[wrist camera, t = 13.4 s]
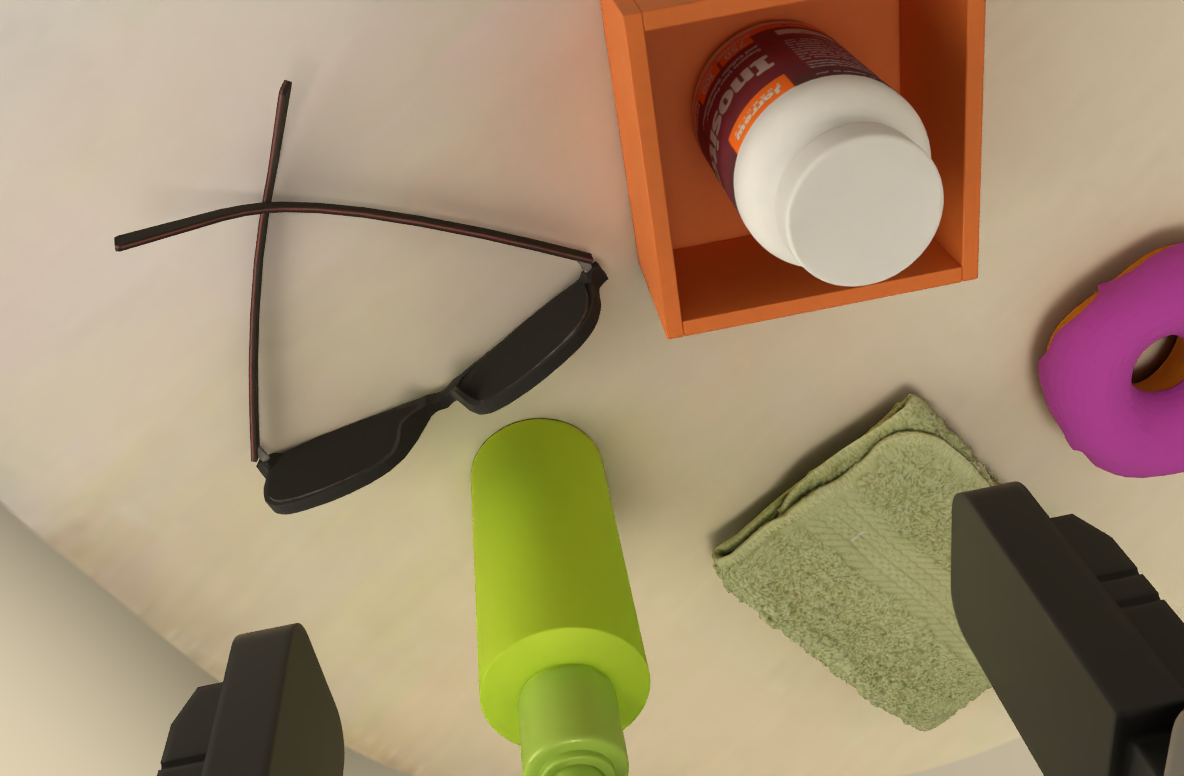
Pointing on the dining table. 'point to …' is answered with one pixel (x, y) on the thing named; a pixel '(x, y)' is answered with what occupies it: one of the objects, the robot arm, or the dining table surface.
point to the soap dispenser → (554, 603)
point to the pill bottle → (817, 154)
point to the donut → (1122, 370)
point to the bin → (696, 197)
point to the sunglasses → (390, 435)
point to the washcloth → (870, 565)
